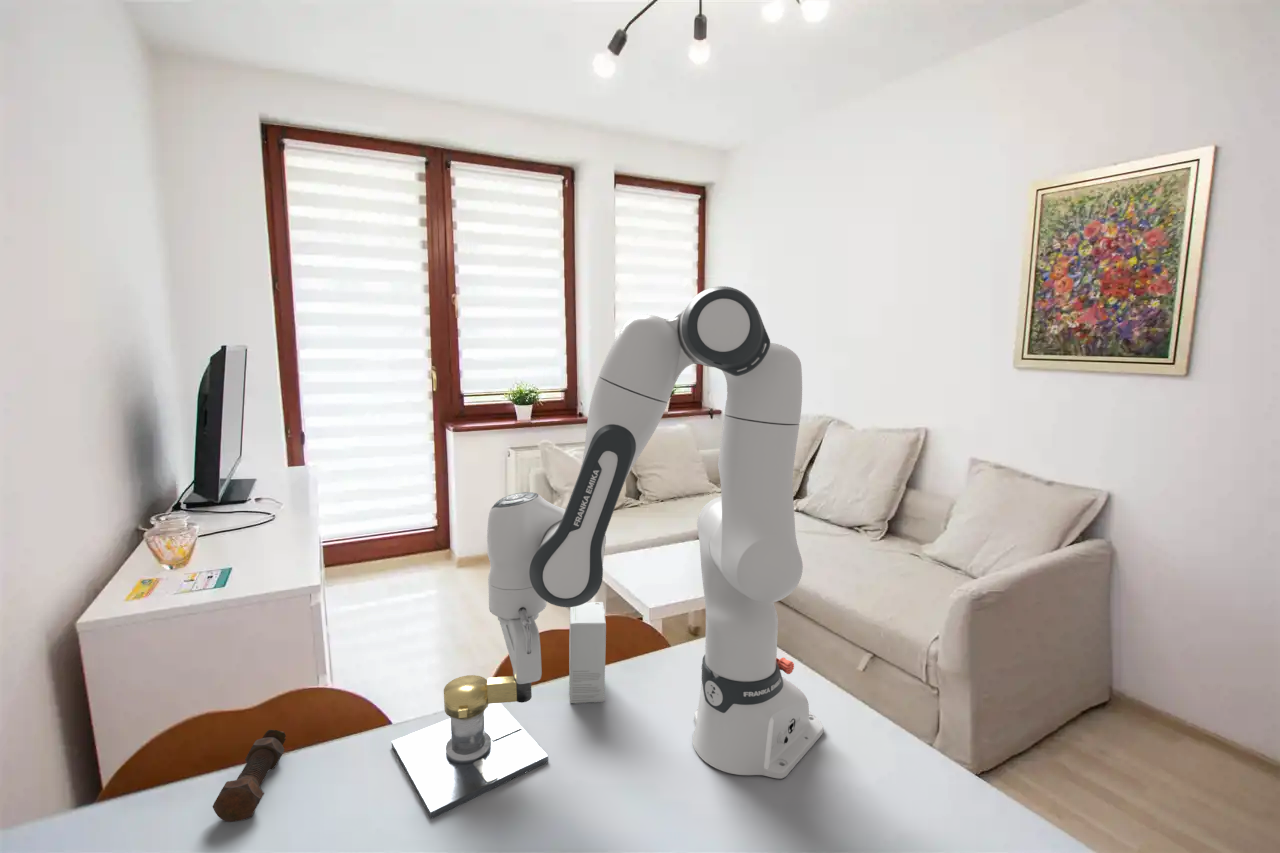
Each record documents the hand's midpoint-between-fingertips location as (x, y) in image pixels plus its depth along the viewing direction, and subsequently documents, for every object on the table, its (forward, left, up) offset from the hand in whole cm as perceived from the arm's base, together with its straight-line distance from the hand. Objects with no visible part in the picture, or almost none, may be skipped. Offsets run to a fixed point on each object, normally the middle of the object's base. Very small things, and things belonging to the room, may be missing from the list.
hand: (519, 678), depth 95 cm
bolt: (+34, -15, -11) cm, 39 cm away
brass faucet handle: (+5, 0, -2) cm, 6 cm away
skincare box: (-16, -5, -11) cm, 20 cm away
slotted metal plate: (+8, -2, -11) cm, 13 cm away
